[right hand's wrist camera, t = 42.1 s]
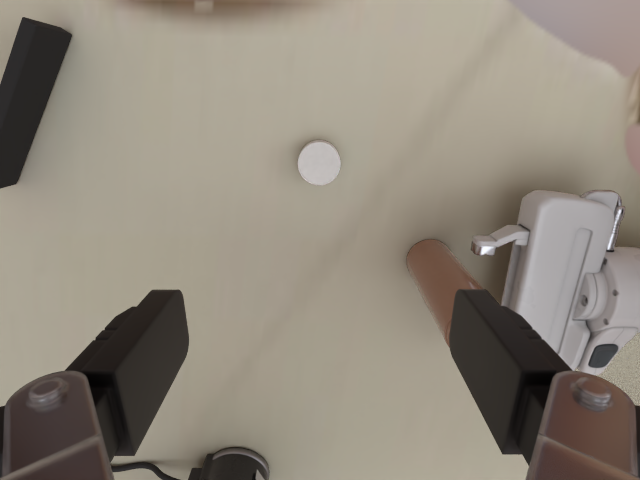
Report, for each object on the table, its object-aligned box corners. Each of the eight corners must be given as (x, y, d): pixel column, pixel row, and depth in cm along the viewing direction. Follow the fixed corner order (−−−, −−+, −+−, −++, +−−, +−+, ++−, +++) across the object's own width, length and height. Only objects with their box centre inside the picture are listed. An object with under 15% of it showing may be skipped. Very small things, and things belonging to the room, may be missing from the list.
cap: (292, 170, 41) (290, 174, 39) (309, 132, 40) (308, 134, 38) (328, 187, 42) (329, 192, 40) (346, 150, 40) (348, 153, 38)
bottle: (459, 253, 44) (560, 364, 26) (432, 286, 46) (508, 414, 27) (424, 231, 44) (502, 329, 25) (397, 266, 45) (452, 383, 26)
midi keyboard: (59, 26, 36) (20, 15, 31) (72, 35, 36) (36, 25, 32) (4, 178, 41) (-36, 188, 37) (16, 184, 41) (-23, 195, 37)
